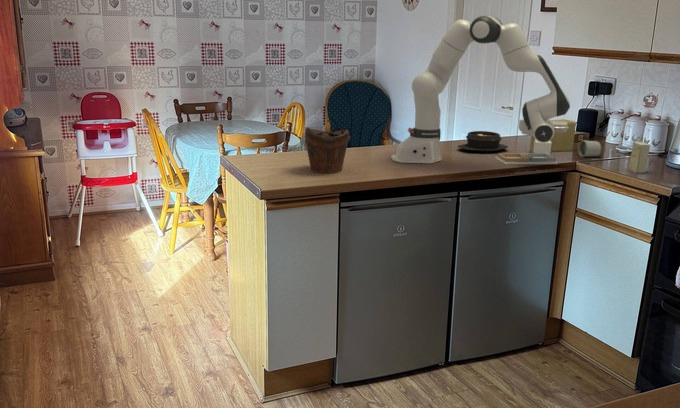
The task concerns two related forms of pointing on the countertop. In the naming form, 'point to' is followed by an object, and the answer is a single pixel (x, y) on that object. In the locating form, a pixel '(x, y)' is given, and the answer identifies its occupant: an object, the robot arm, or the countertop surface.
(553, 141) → the cheese
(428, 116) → the robot arm
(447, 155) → the countertop surface
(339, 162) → the wooden bucket
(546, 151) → the medicine bottle
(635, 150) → the skincare box
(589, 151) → the ceramic mug
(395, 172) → the countertop surface
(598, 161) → the countertop surface
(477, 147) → the casserole
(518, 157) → the seat plate
